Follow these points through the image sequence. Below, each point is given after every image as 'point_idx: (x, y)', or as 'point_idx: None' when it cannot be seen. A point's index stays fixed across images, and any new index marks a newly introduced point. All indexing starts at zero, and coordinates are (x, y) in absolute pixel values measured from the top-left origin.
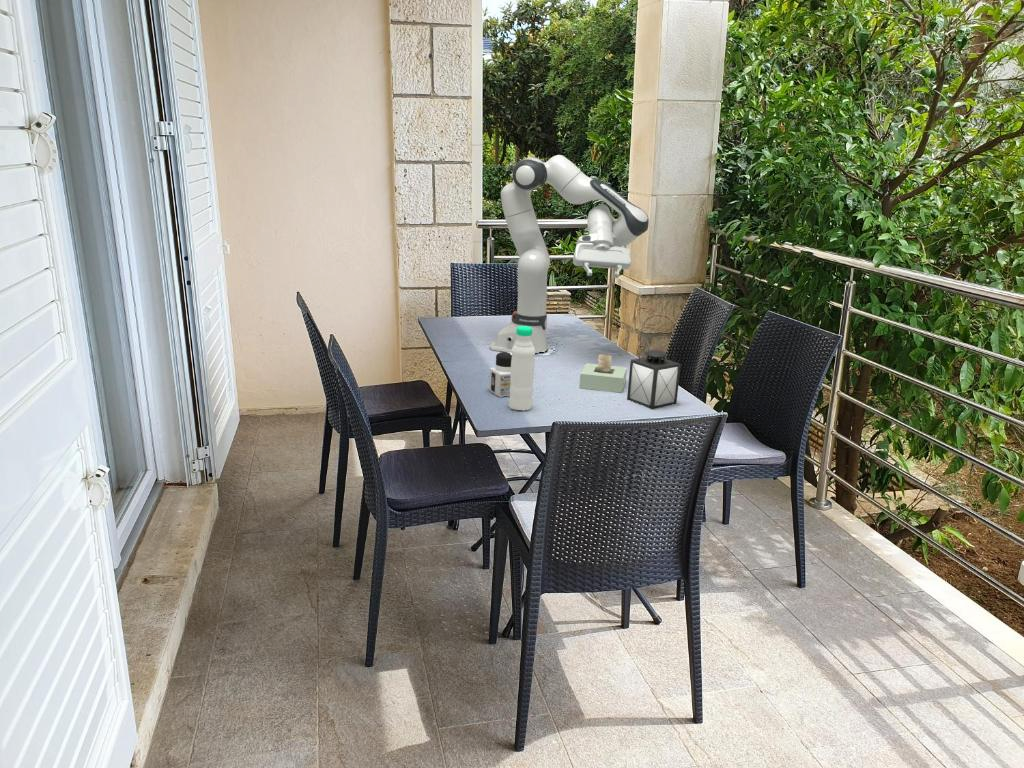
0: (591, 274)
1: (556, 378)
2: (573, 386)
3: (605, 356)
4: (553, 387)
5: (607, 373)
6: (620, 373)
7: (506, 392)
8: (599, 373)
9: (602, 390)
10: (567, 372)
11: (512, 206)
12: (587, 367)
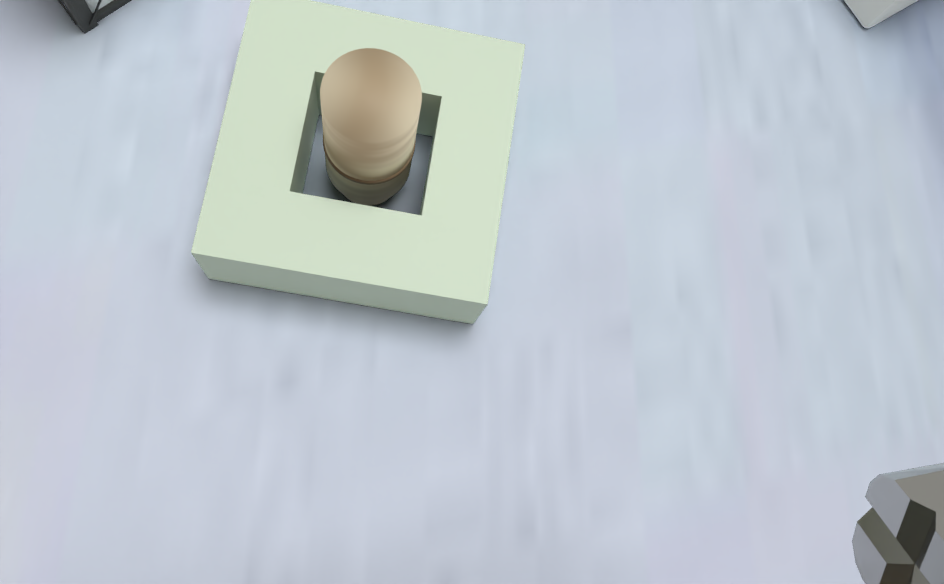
0: (877, 485)
1: (647, 259)
2: (541, 118)
3: (369, 86)
4: (649, 82)
5: None
6: (259, 91)
7: None
8: None
9: None
10: (588, 411)
11: None
12: (479, 195)
